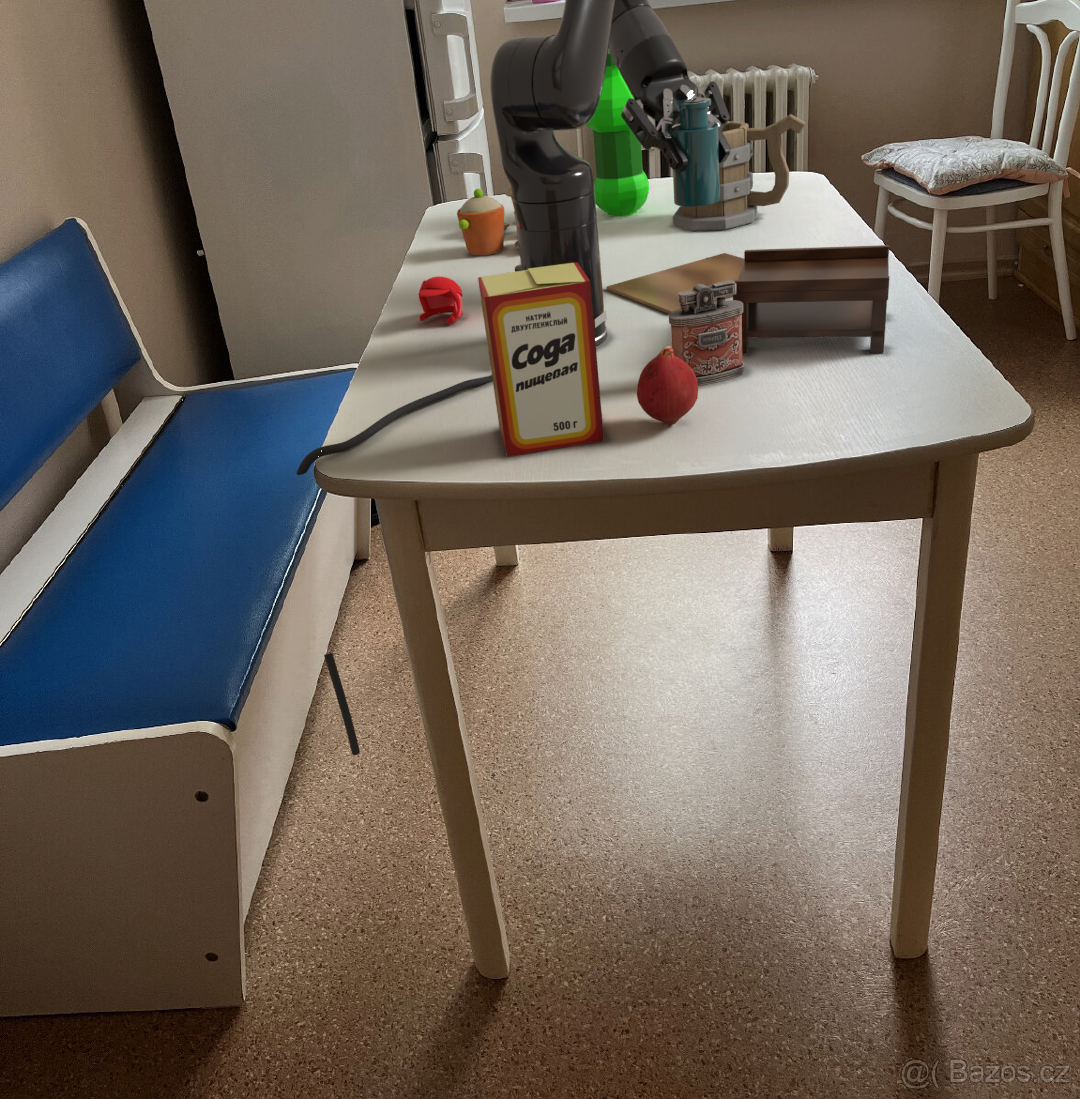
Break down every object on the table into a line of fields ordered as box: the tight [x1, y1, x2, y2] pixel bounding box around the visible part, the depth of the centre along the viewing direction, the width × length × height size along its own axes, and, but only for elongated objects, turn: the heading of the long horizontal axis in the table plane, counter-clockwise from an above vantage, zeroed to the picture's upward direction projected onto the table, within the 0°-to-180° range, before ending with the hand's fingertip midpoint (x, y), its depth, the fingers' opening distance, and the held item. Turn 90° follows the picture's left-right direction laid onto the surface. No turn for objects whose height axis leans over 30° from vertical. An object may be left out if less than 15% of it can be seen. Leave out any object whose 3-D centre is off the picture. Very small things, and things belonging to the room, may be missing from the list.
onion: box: [636, 345, 699, 426], centre depth 99 cm, size 6×6×8 cm
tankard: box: [672, 113, 806, 232], centre depth 160 cm, size 20×13×15 cm, turn 73°
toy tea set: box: [456, 186, 519, 256], centre depth 168 cm, size 26×16×10 cm, turn 2°
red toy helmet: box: [417, 276, 464, 326], centre depth 135 cm, size 8×6×6 cm
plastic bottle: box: [585, 50, 650, 218], centre depth 169 cm, size 10×10×25 cm
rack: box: [732, 244, 890, 354], centre depth 115 cm, size 16×12×8 cm
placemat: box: [606, 252, 745, 315], centre depth 138 cm, size 20×15×1 cm
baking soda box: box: [477, 262, 605, 458], centre depth 98 cm, size 10×6×16 cm
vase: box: [672, 98, 720, 207], centre depth 129 cm, size 6×6×12 cm
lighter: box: [668, 280, 745, 387], centre depth 107 cm, size 8×3×10 cm, turn 106°
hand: (704, 163), depth 129 cm, fingers closed on vase, 6 cm apart
